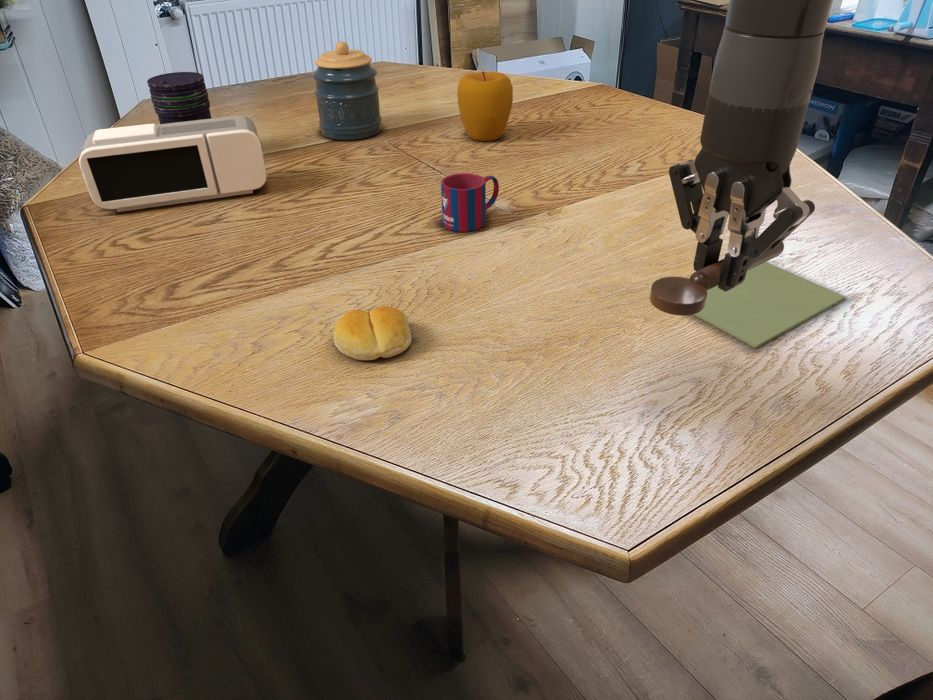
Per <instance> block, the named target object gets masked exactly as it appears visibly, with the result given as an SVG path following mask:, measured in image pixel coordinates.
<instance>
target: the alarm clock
mask: <svg viewBox="0 0 933 700" xmlns="http://www.w3.org/2000/svg"><path fill="white" fill-rule="evenodd" d="M211 118H212V117H211ZM78 165H79V169H80V171H81V174H82V177H83V179H84V182H85V185H86V188H87V191H88V193H89V197H90V199H91V200H92V202H93V203H94V204H95V205H96V206H97V207H99V208H101V209H104V210H116V213H120V212H127V211H134V210H142V209H143V210H144V209H148V208H157V207H162V206H170V205H177V204H185V203H191V202H199V201H207V200H213V199H220V198H221V199H222V198H228V197H234V196H235V197H236V196H242V195H248V194H253V193H254V190H258V189H260V188H261V187H263V186H264V185H265V183H266V180H267V170H266V164H265V161H264V154H263V150H262V145H261V140H260V137H259V134H258V130H257V127H256V124H255V122H254V121H253V120H252V118H250V117H248V116H245V115H231V116H223V117H215V118H214V117H213V118H212V119H203V120H195V121H186V122H177V123H168V124H160V123H159V124H156V123H147V124H146V123H145V124H144V123H143V124H137V125H136V124H135V125H127V126H126V125H125V126H119V127H110V128H101V129H95V131H94V132H91V133H90V134H89V135H87V136H86V139H85V141H84V143H83V147H82V150H81V152H80V155H79V158H78Z"/></svg>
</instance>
